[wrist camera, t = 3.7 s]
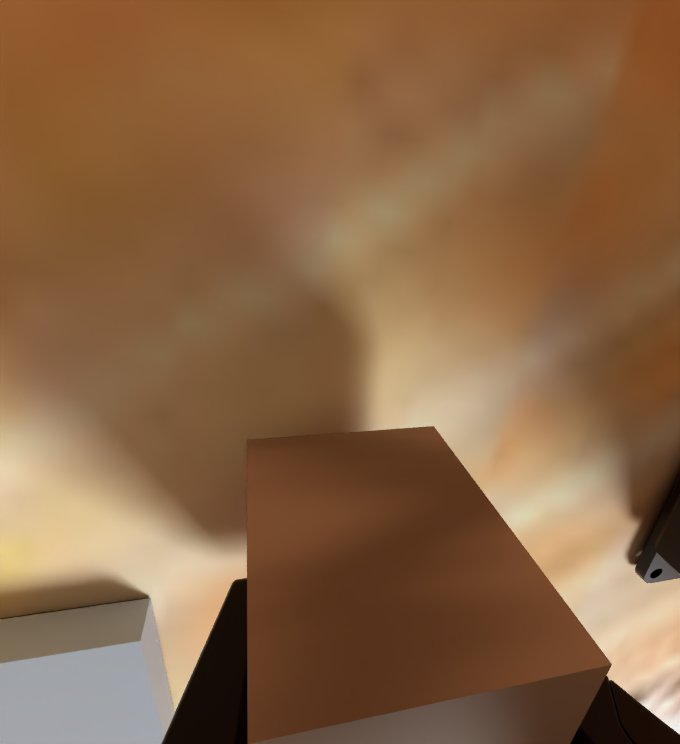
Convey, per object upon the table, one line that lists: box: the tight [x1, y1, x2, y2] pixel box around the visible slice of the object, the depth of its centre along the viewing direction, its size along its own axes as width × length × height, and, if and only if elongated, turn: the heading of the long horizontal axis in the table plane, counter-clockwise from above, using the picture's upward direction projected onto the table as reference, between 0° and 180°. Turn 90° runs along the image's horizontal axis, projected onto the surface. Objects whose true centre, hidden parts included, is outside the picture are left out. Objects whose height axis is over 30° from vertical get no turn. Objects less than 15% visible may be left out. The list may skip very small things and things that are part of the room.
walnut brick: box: [247, 426, 612, 744], centre depth 8 cm, size 4×6×5 cm, turn 177°
